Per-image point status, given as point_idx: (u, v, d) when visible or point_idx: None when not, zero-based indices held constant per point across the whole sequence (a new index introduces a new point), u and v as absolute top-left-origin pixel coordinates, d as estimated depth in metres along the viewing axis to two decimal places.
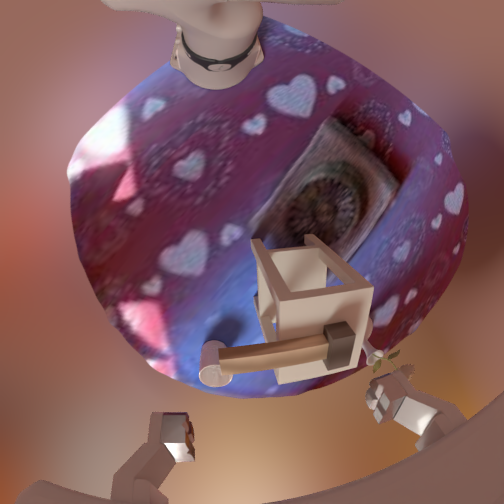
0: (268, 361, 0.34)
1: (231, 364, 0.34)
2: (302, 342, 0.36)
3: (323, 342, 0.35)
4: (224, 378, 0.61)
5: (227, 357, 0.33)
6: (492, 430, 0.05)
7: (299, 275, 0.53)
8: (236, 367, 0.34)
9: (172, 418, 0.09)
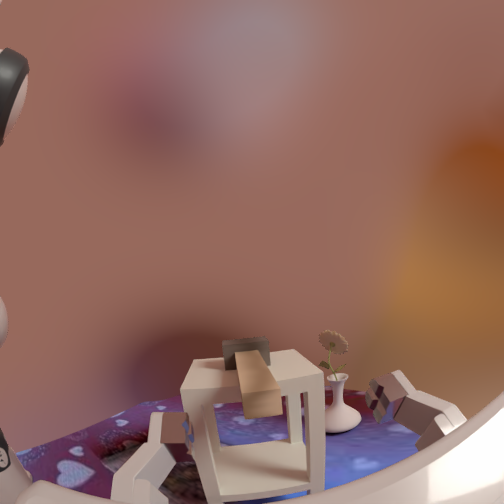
0: (250, 369, 0.25)
1: (253, 385, 0.20)
2: None
3: None
4: None
5: (241, 391, 0.20)
6: (492, 430, 0.05)
7: (242, 462, 0.32)
8: (260, 382, 0.21)
9: (172, 418, 0.09)
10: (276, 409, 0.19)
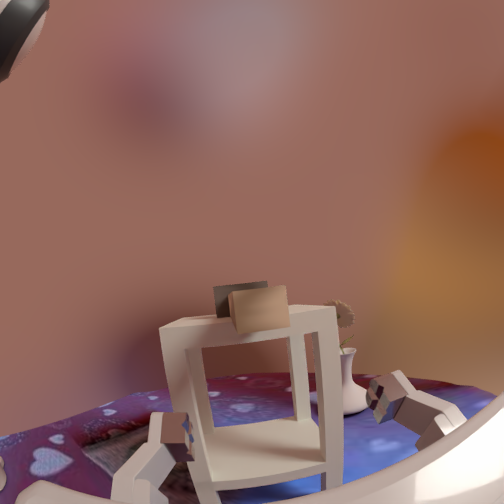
0: None
1: None
2: None
3: (228, 298, 0.29)
4: None
5: (232, 296, 0.16)
6: (492, 430, 0.05)
7: (240, 443, 0.28)
8: None
9: (172, 418, 0.09)
10: (281, 318, 0.15)
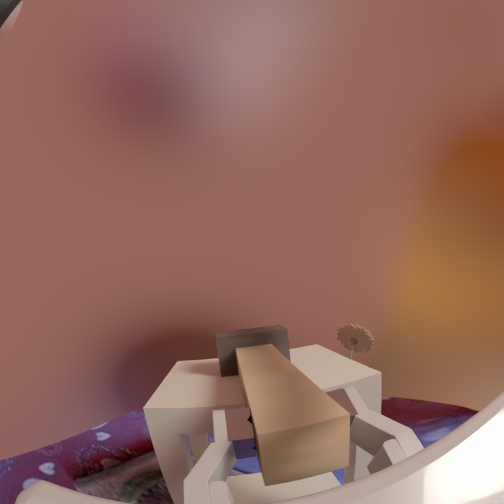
0: (267, 374, 0.13)
1: (283, 410, 0.08)
2: (239, 373, 0.18)
3: (236, 354, 0.21)
4: None
5: (254, 426, 0.08)
6: (492, 430, 0.05)
7: (248, 500, 0.20)
8: (295, 401, 0.09)
9: (236, 414, 0.09)
10: (337, 459, 0.07)
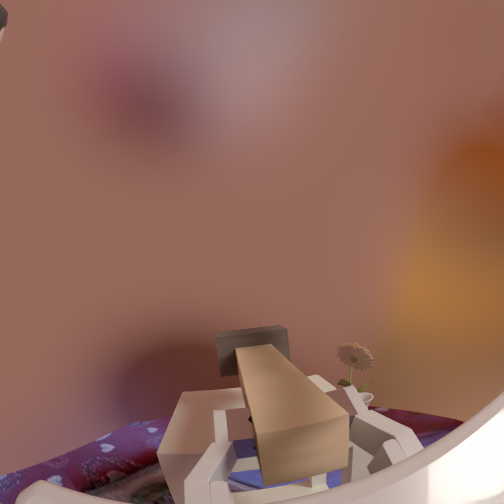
0: (267, 374, 0.13)
1: (282, 410, 0.08)
2: (239, 373, 0.18)
3: None
4: None
5: (253, 426, 0.08)
6: (492, 430, 0.05)
7: None
8: (295, 401, 0.09)
9: (236, 414, 0.09)
10: (336, 459, 0.07)
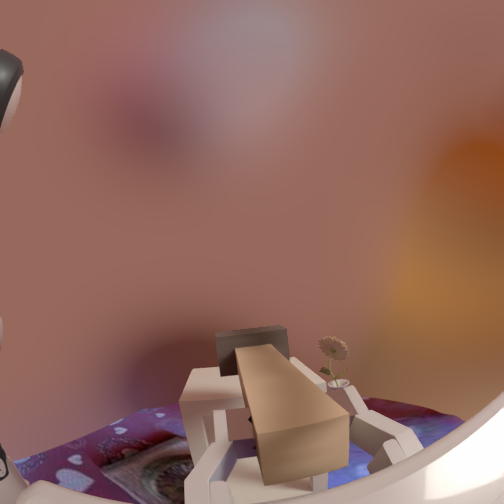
0: (266, 374, 0.13)
1: (282, 410, 0.08)
2: None
3: None
4: None
5: (254, 426, 0.08)
6: (492, 430, 0.05)
7: (243, 472, 0.31)
8: (295, 401, 0.09)
9: (236, 414, 0.09)
10: (336, 459, 0.07)
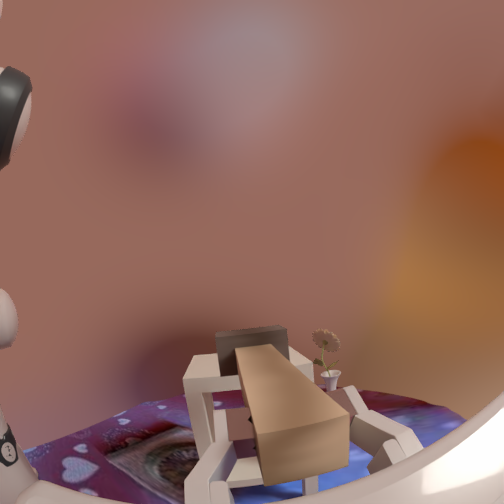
0: (266, 374, 0.13)
1: (282, 410, 0.08)
2: None
3: None
4: None
5: (254, 426, 0.08)
6: (492, 430, 0.05)
7: None
8: (295, 401, 0.09)
9: (236, 414, 0.09)
10: (336, 459, 0.07)
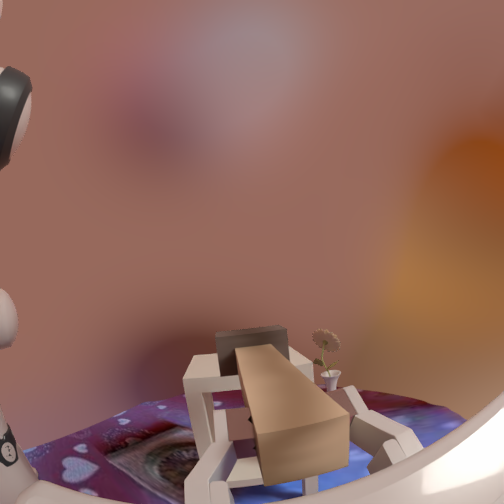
0: (266, 374, 0.13)
1: (282, 410, 0.08)
2: None
3: None
4: None
5: (254, 426, 0.08)
6: (492, 430, 0.05)
7: None
8: (295, 401, 0.09)
9: (236, 414, 0.09)
10: (336, 459, 0.07)
